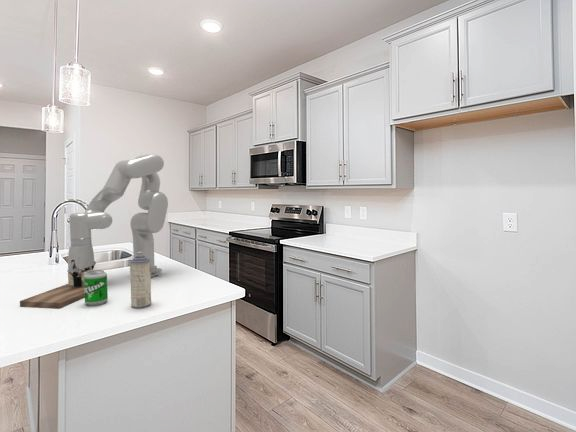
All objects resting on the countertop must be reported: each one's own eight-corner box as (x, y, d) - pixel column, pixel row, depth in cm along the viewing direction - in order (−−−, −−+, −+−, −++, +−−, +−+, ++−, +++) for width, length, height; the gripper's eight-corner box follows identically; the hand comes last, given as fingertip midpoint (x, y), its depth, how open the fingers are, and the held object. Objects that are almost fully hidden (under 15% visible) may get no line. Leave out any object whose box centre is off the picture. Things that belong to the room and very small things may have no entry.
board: (101, 290, 140) (101, 285, 139) (59, 308, 118) (59, 303, 118) (67, 288, 141) (66, 284, 141) (20, 306, 120) (19, 301, 119)
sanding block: (97, 283, 142) (96, 270, 142) (88, 287, 137) (87, 273, 136) (78, 282, 143) (77, 269, 143) (68, 286, 138) (67, 272, 137)
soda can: (91, 300, 127) (89, 269, 126) (111, 299, 128) (110, 269, 127) (80, 306, 120) (79, 274, 119) (102, 306, 120) (100, 274, 119)
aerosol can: (154, 304, 122) (153, 252, 121) (137, 309, 117) (135, 254, 115) (145, 300, 126) (143, 249, 125) (127, 305, 121) (125, 252, 119)
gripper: (87, 238, 147) (89, 278, 149) (56, 245, 130) (59, 289, 132) (103, 239, 146) (104, 278, 148) (74, 245, 129) (76, 290, 131)
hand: (83, 283), depth 140 cm, fingers closed on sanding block, 5 cm apart
